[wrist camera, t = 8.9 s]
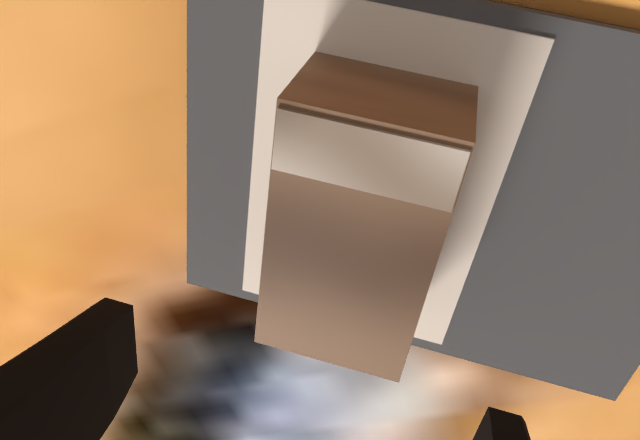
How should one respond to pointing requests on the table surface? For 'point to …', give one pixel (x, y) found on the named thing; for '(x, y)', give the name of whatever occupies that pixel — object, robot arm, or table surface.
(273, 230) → the banded brown carton
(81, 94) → the table surface
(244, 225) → the mat
